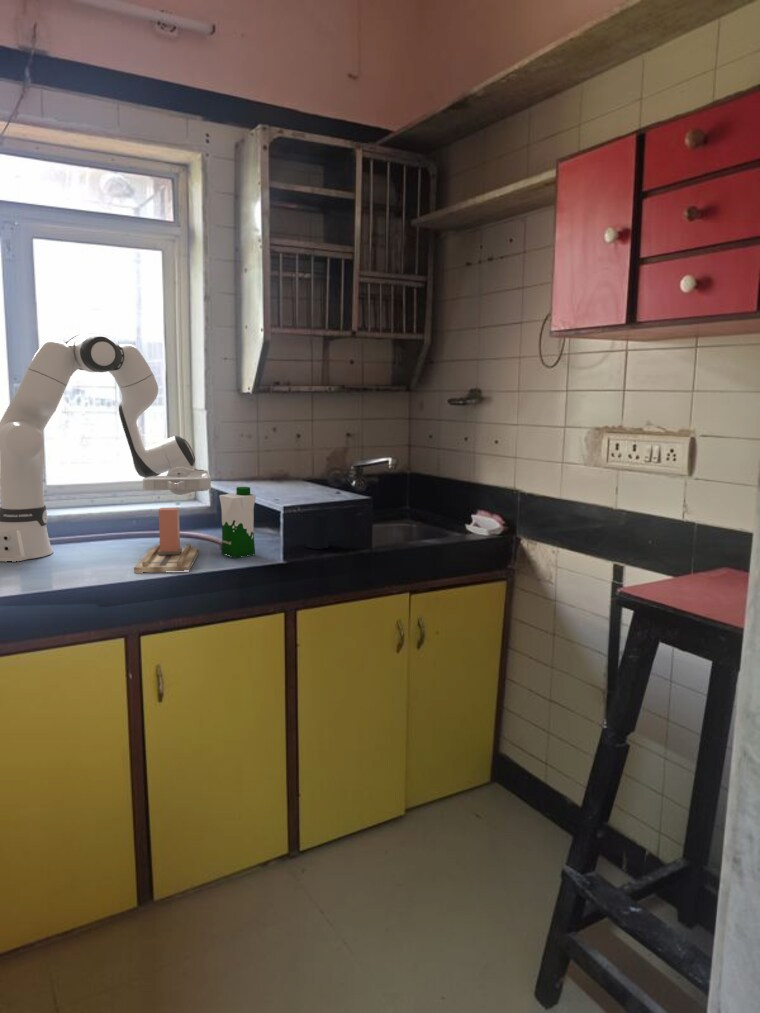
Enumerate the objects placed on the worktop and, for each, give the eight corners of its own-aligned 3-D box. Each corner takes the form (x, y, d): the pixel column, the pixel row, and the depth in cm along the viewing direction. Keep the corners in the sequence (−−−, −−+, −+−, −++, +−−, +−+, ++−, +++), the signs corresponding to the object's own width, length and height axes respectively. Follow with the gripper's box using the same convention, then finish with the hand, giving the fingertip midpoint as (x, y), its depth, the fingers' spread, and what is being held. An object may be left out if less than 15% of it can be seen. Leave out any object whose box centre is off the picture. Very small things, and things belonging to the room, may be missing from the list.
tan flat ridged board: (134, 573, 186) (133, 563, 186) (150, 552, 210) (150, 544, 209) (188, 572, 188) (188, 562, 188) (198, 552, 212) (198, 543, 211)
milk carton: (259, 554, 210) (258, 488, 207) (233, 559, 203) (232, 491, 200) (242, 549, 216) (241, 485, 213) (217, 554, 210) (215, 487, 206)
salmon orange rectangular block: (158, 554, 200) (156, 510, 198) (161, 550, 205) (159, 507, 203) (179, 554, 201) (178, 510, 199) (182, 550, 206) (180, 507, 204)
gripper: (146, 470, 221) (137, 476, 208) (212, 470, 224) (208, 475, 211) (147, 490, 222) (138, 497, 209) (213, 489, 225) (209, 496, 212)
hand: (174, 486), depth 210 cm, fingers closed
